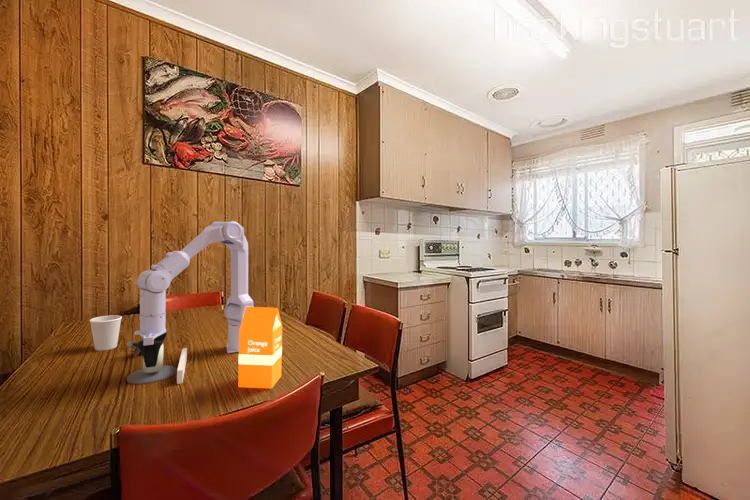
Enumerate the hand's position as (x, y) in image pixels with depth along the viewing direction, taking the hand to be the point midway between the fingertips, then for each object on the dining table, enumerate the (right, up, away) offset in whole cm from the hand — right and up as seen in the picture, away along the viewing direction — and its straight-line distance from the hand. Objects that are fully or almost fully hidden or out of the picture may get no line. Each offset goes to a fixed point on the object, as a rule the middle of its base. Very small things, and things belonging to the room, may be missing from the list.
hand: (152, 363), depth 85 cm
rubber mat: (0, -3, 0) cm, 3 cm away
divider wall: (+6, -3, +3) cm, 8 cm away
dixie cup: (-30, -2, +19) cm, 36 cm away
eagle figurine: (-13, -3, +15) cm, 20 cm away
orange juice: (+30, -4, -2) cm, 31 cm away
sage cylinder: (0, -2, 0) cm, 2 cm away
